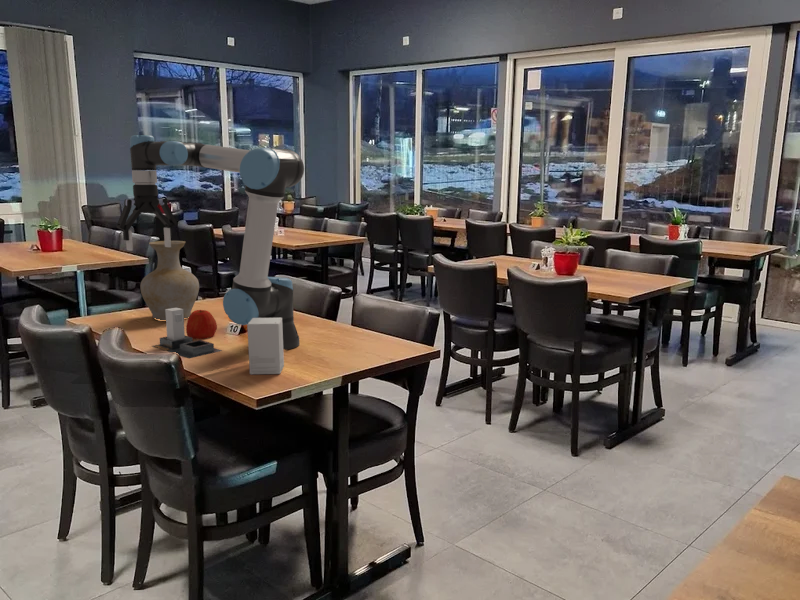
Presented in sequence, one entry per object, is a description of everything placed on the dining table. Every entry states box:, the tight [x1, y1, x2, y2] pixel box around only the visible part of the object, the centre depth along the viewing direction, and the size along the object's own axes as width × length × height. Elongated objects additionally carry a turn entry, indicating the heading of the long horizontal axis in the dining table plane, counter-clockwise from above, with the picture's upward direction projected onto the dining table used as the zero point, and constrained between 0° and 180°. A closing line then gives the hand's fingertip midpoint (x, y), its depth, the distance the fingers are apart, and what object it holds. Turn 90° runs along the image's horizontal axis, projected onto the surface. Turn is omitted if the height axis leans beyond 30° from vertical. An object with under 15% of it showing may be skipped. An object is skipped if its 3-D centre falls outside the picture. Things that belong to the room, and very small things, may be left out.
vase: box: [139, 240, 200, 320], centre depth 261 cm, size 22×22×30 cm
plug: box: [165, 308, 186, 341], centre depth 216 cm, size 5×4×12 cm
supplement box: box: [246, 318, 285, 375], centre depth 193 cm, size 9×9×15 cm
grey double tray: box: [151, 335, 223, 359], centre depth 213 cm, size 22×12×4 cm, turn 49°
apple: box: [185, 309, 218, 340], centre depth 229 cm, size 10×10×10 cm
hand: (149, 248), depth 221 cm, fingers open, 13 cm apart
